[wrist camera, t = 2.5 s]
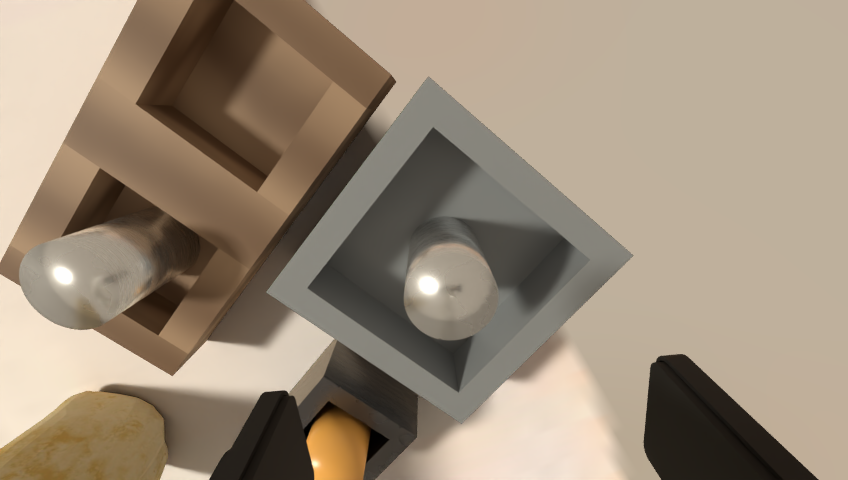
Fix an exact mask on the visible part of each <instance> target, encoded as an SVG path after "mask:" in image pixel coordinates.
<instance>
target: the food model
mask: <svg viewBox="0 0 848 480" xmlns="http://www.w3.org/2000/svg"><path fill="white" fill-rule="evenodd" d="M167 459H168V448H167V446H166V443H165V436H164V419H163V418H162V416H161V415H160V414H159V413H158V411H157V410H156V409H155V408H154V406H153V405H151V404H149V403H147V402H145V401H143V400H141V399H139V398H137V397H132V396H127V395H122V394H114V393H107V392H100V391H99V392H92V391H85V392H82V393H79V394H76V395H73V396H71V397H70V398H68V399H67V400H65V401H64V402H63V403H62V404H61V405H60V406H59V407H58V408H57V409H55V410H54V411H53V412H51V413H50V414H49V415H48V416H46V417H45V418H44V419H43V420H41V421H40V422H38V423H37V424H35V425H34V426H33V427H31V428H30V429H28V430H27V431H25V432H24V433H23V434H21V435H20V436H18V437H17V438H15V439H14V440H13V441H11V442H10V443H8V444H7V445H5V446H4V447H2V448H1V449H0V480H160V478H161V475H162V473H163V470H164V467H165V464H166V462H167Z"/></svg>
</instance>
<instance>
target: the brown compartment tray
mask: <svg viewBox="0 0 848 480" xmlns="http://www.w3.org/2000/svg"><path fill="white" fill-rule="evenodd" d="M395 83H396V81H395V79H394V78H393V77H392V75H391V74H390V73H388V72H387V71H386V70H385V69H384V68H383V67H381V66H380V65H379V64H378V63H377V62H376V61H374V60H373V59H372V58H371V57H370V56H368V55H367V54H366V53H365V52H364V51H363V50H362V49H360V48H359V47H358V46H357V45H356V44H355V43H353V42H352V41H351V40H350V39H349V38H347V37H346V36H345V35H344V34H343V33H342V32H340V31H339V30H338V29H337V28H336V27H335V26H333V25H332V24H331V23H330V22H329V21H328V20H326V19H325V18H324V17H323V16H322V15H321V14H319V13H318V12H317V11H316V10H315V9H314V8H312V7H311V6H310V5H309V4H308V3H307V2H305V1H304V0H137V2H136V4H135V6H134V8H133V10H132V12H131V14H130V16H129V17H128V19H127V21H126V23H125V25H124V27H123V29H122V31H121V33H120V35H119V37H118V38H117V40H116V42H115V44H114V46H113V48H112V50H111V52H110V54H109V56H108V58H107V60H106V61H105V63H104V65H103V67H102V69H101V71H100V73H99V75H98V77H97V79H96V81H95V82H94V84H93V86H92V88H91V90H90V92H89V94H88V96H87V98H86V100H85V102H84V103H83V105H82V107H81V109H80V111H79V113H78V115H77V117H76V119H75V121H74V123H73V124H72V126H71V128H70V130H69V132H68V134H67V136H66V138H65V140H64V142H63V144H62V146H61V147H60V149H59V151H58V153H57V155H56V157H55V159H54V161H53V163H52V165H51V167H50V168H49V170H48V172H47V174H46V176H45V178H44V180H43V182H42V184H41V186H40V188H39V189H38V191H37V193H36V195H35V197H34V199H33V201H32V203H31V205H30V207H29V209H28V211H27V212H26V214H25V216H24V218H23V220H22V222H21V224H20V226H19V228H18V230H17V232H16V233H15V235H14V237H13V239H12V241H11V243H10V245H9V247H8V249H7V251H6V253H5V254H4V256H3V258H2V260H1V262H0V274H1V275H3V276H5V277H6V278H8V279H10V280H11V281H13V282H15V283H16V284H18V285H20V286H21V284H20V279H19V269H20V265H21V262H22V260H23V258H24V256H25V255H26V254H27V253H28V252H29V250H31V249H32V248H34V247H35V246H37V245H39V244H42V243H45V242H48V241H51V240H54V239H57V238H60V237H63V236H66V235H69V234H72V233H75V232H78V231H81V230H84V229H87V228H90V227H93V226H96V225H99V224H102V223H105V222H108V221H111V220H114V219H117V218H120V217H123V216H126V215H129V214H132V213H135V212H138V211H141V210H144V209H147V208H150V207H159V208H160V209H161V210H163V211H164V212H166V213H167V214H169V215H170V216H172V217H173V218H175V219H176V220H178V221H179V222H181V223H182V224H184V225H185V226H187V227H188V228H189V229H191V230H192V231H194V232H195V233H197V234H198V236H199V239H200V253H199V256H198V259H197V261H196V262H195V263H194V265H193V266H191V267H190V268H189V269H187V270H186V271H184V272H183V273H181V274H180V275H178V276H177V277H175V278H174V279H172V280H171V281H169V282H167V283H166V284H164V285H163V286H161V287H160V288H158V289H157V290H155V291H154V292H152V293H151V294H149V295H148V296H146V297H145V298H143V299H141V300H140V301H138V302H137V303H135V304H134V305H132V306H131V307H129V308H128V309H126V310H125V311H123V312H122V313H120V314H118V315H117V316H115V317H114V318H112V319H111V320H109V321H108V322H106V323H105V324H103V325H101V326H99V327H96V328H93V329H94V330H96V331H97V332H99V333H101V334H102V335H104V336H106V337H107V338H109V339H111V340H112V341H114V342H116V343H118V344H119V345H121V346H123V347H124V348H126V349H128V350H129V351H131V352H133V353H134V354H136V355H138V356H139V357H141V358H143V359H144V360H146V361H148V362H150V363H151V364H153V365H155V366H156V367H158V368H160V369H161V370H163V371H165V372H166V373H168V374H170V375H171V376H173V375H174V374H175V373H176V372H177V371H178V370H179V369H180V368H181V367H182V366H183V365H184V363H185V362H186V361H187V360H188V359H189V358H190V357H191V356H192V355H193V354H194V353H195V352H196V351H197V350H198V349H199V348H200V347H201V346H202V345H203V344H204V343H205V342H206V341H207V339H208V338H209V337H210V335H211V334H212V332H213V331H214V330H215V328H216V327H217V326H218V324H219V323H220V322H221V320H222V319H223V317H224V316H225V315H226V313H227V312H228V311H229V309H230V308H231V307H232V305H233V304H234V302H235V301H236V300H237V298H238V297H239V296H240V294H241V293H242V292H243V290H244V289H245V287H246V286H247V285H248V283H249V282H250V281H251V279H252V278H253V277H254V275H255V274H256V272H257V271H258V270H259V268H260V267H261V266H262V264H263V263H264V262H265V260H266V259H267V257H268V256H269V255H270V253H271V252H272V251H273V249H274V248H275V246H276V245H277V244H278V242H279V241H280V240H281V238H282V237H283V236H284V234H285V233H286V231H287V230H288V229H289V227H290V226H291V225H292V223H293V222H294V221H295V219H296V218H297V216H298V215H299V214H300V212H301V211H302V210H303V208H304V207H305V206H306V204H307V203H308V201H309V200H310V199H311V197H312V196H313V195H314V193H315V192H316V191H317V189H318V188H319V186H320V185H321V184H322V182H323V181H324V180H325V178H326V177H327V176H328V174H329V173H330V171H331V170H332V169H333V167H334V166H335V165H336V163H337V162H338V161H339V159H340V158H341V156H342V155H343V154H344V152H345V151H346V150H347V148H348V147H349V146H350V144H351V143H352V141H353V140H354V139H355V137H356V136H357V135H358V133H359V132H360V131H361V129H362V128H363V126H364V125H365V124H366V122H367V121H368V120H369V118H370V117H371V116H372V114H373V113H374V111H375V110H376V109H377V107H378V106H379V105H380V103H381V102H382V100H383V99H384V98H385V96H386V95H387V94H388V92H389V91H390V90H391V88H392V87H393V85H394V84H395Z"/></svg>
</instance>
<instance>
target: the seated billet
mask: <svg viewBox="0 0 848 480" xmlns="http://www.w3.org/2000/svg"><path fill="white" fill-rule="evenodd" d="M199 253H200V239H199V236H198V234H197V233H195V232H194V231H192V230H191V229H189V228H188V227H187V226H185V225H184V224H182V223H181V222H179V221H178V220H176V219H175V218H173V217H172V216H170V215H169V214H167V213H166V212H164V211H163V210H161V209H160V208H159V207H150V208H147V209H144V210H141V211H138V212H135V213H132V214H129V215H126V216H123V217H120V218H117V219H114V220H111V221H108V222H105V223H102V224H99V225H96V226H93V227H90V228H87V229H84V230H81V231H78V232H75V233H72V234H69V235H66V236H63V237H60V238H57V239H54V240H51V241H48V242H45V243H42V244H39V245H37V246H35V247H34V248H32V249H31V250H29V252H28V253H27V254H26V255H25V256H24V258H23V260H22V262H21V265H20V269H19V279H20V284H21V288H22V290H23V293H24V295H25V296H26V298H27V300H28V301H29V303H30V304H31V305H32V306H33V307H34V309H36V310H37V311H38V312H39V313H40V314H41V315H42V316H44V317H45V318H47V319H48V320H50V321H52V322H53V323H55V324H58V325H60V326H63V327H66V328H70V329H78V330H87V329H93V328H96V327H99V326H101V325H103V324H105V323H106V322H108V321H109V320H111V319H112V318H114V317H115V316H117V315H118V314H120V313H122V312H123V311H125V310H126V309H128V308H129V307H131V306H132V305H134V304H135V303H137V302H138V301H140V300H141V299H143V298H145V297H146V296H148V295H149V294H151V293H152V292H154V291H155V290H157V289H158V288H160V287H161V286H163V285H164V284H166V283H167V282H169V281H171V280H172V279H174V278H175V277H177V276H178V275H180V274H181V273H183V272H184V271H186V270H187V269H189V268H190V267H191V266H193V265H194V263H195V262H196V261H197V259H198V256H199Z"/></svg>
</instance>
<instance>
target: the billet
mask: <svg viewBox="0 0 848 480" xmlns="http://www.w3.org/2000/svg"><path fill="white" fill-rule="evenodd" d="M498 298H499V294H498V287H497V284H496V281H495V279H494V277H493V274H492V272H491V270H490V268H489V265H488V263H487V261H486V259H485V256H484V254H483V252H482V250H481V247H480V245H479V243H478V241H477V238H476V236H475V234H474V232H473V231H472V229H471V228H470V227H469V226H468V225H467V224H465V223H464V222H463V221H461V220H459V219H456V218H453V217H447V216H441V217H435V218H432V219H429V220H427V221H425V222H424V223H422V224H421V225H420V226H419V227H418V228H417V229H416V230H415V232H414V233H413V235H412V237H411V240H410V243H409V251H408V260H407V270H406V280H405V290H404V305H405V310H406V312H407V315H408V317H409V319H410V320H411V321H412V323H413V324H414V325H415V326H416V327H417V328H418V329H419V330H420V331H422V332H423V333H425V334H426V335H429V336H431V337H433V338H436V339H441V340H459V339H464V338H467V337H470V336H472V335H474V334H476V333H478V332H479V331H480V330H482V329H483V328H484V327H485V326H486V325H487V324H488V323H489V322H490V321H491V319H492V317H493V316H494V314H495V312H496V309H497V306H498Z"/></svg>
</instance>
